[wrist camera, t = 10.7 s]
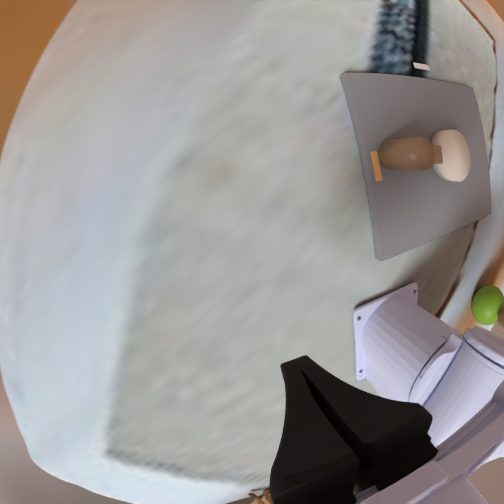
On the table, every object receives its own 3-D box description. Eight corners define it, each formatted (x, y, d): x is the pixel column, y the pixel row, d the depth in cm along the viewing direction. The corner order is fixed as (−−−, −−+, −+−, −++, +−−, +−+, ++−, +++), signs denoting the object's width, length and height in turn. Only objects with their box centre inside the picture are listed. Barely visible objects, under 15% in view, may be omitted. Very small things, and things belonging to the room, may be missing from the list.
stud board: (485, 212, 25) (491, 213, 24) (375, 258, 23) (382, 261, 22) (463, 76, 20) (469, 75, 19) (333, 59, 18) (340, 55, 17)
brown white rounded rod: (455, 132, 20) (486, 131, 16) (460, 179, 21) (491, 183, 17) (372, 124, 18) (407, 116, 14) (380, 186, 20) (416, 189, 16)
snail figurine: (464, 289, 27) (531, 325, 16) (486, 275, 28) (547, 304, 16) (458, 324, 29) (517, 363, 17) (481, 307, 29) (536, 340, 18)
